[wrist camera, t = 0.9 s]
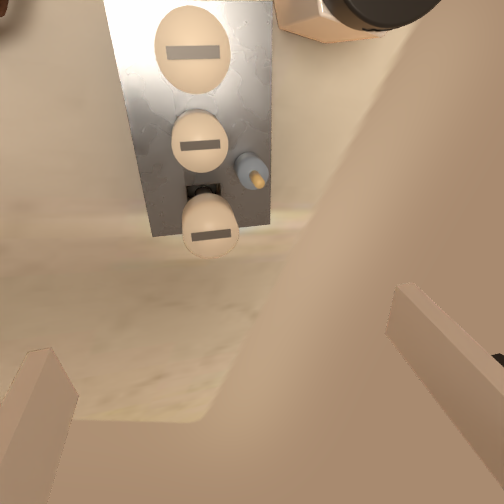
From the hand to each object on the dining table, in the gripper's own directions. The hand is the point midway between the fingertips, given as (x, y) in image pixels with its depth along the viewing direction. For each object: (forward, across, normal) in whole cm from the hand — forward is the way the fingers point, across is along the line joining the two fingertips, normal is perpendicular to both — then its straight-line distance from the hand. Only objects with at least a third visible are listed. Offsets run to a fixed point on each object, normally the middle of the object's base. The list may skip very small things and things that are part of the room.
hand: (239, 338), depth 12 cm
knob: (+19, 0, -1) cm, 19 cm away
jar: (+23, +11, +14) cm, 29 cm away
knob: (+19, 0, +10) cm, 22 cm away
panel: (+23, 0, +4) cm, 23 cm away
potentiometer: (+18, +4, +1) cm, 18 cm away
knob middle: (+23, 0, +4) cm, 23 cm away
